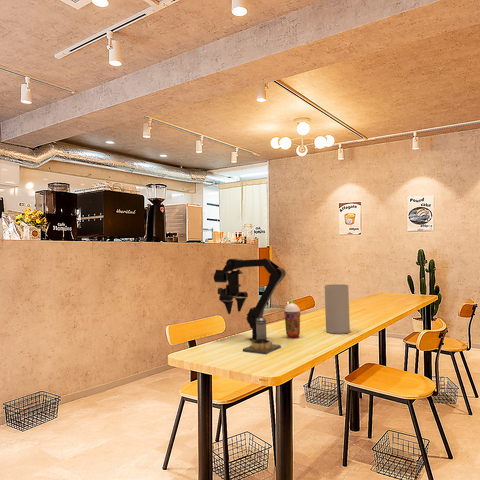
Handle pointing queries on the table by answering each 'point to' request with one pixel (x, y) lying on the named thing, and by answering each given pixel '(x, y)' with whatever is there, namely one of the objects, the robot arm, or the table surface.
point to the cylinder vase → (337, 309)
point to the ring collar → (261, 347)
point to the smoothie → (292, 320)
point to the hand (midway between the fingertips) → (234, 312)
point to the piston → (261, 330)
